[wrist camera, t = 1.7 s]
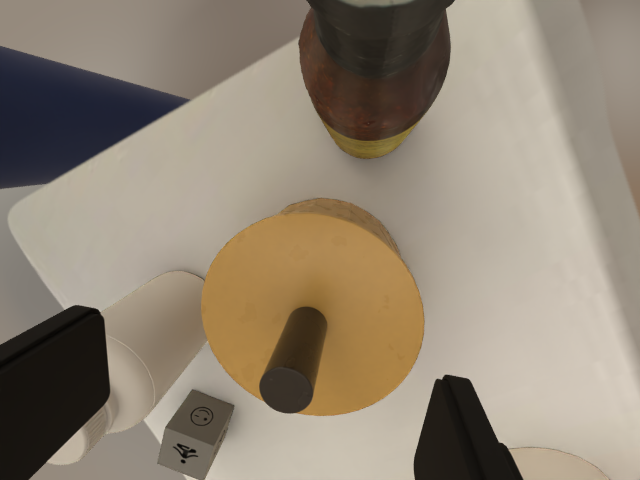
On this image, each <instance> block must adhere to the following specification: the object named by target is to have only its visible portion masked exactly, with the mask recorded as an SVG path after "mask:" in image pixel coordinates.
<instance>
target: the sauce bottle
mask: <svg viewBox="0 0 640 480" xmlns="http://www.w3.org/2000/svg"><path fill="white" fill-rule="evenodd" d="M307 1H308V3H309V4H310V6H311V9H310V10H309V12H308V14H307V15H306V19H305V21H304V24H303V28H302V31H301V34H300V39H299V43H298V45H299V48H300V65H301V71H302V74H303V79H304V82H305V86H306V89H307V90H308V93H309V96H310V97H311V101H312V103H313V106H314V108H315V110H316V111H317V113H318V115H319V117H320V118H321V120H322V122H323V123H324V125H325V127H326V128H327V130H328V132H329V133H330V135H331V137H332V138H333V139H334V141H335V143H336V144H337V145H338V146H339V147H340V148H341V149H342V150H343V151H345V152H346V153H348V154H350V155H352V156H354V157H357V158H363V159H366V158H367V159H370V158H376V157H380V156H383V155H386V154H387V153H389V152H391V151H393V150H394V149H395V148H397V147H398V146H399V145H400V144H401V143H402V142H403V140H404V139H405V138H406V137H407V136H408V134H409V133H410V132H411V130H412V129H413V128H414V127H415V126H416V125H417V123H418V122H419V121H420V120H421V118H422V117H423V116H424V115H425V113H426V112H427V111H428V110H429V108H430V107H431V105H432V104H433V102H434V101H435V99H436V97H437V95H438V94H439V92H440V90H441V88H442V85H443V83H444V80H445V77H446V74H447V70H448V66H449V61H450V52H451V43H450V33H449V27H448V20H447V14H446V8H447V7H449V6H450V5H451V4H452V3H453V2H454V1H455V0H307Z"/></svg>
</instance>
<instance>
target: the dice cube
mask: <svg viewBox="0 0 640 480" xmlns="http://www.w3.org/2000/svg"><path fill="white" fill-rule="evenodd" d="M233 409H234V405H231V404H229V403H226V402H223V401H221V400H218V399H216V398H213V397H210V396H208V395H205V394H202V393H200V392H197V391H194V390H192V391H191V392H190V394H189V395H188V396H187V398H186V399H185V401H184V402H183V403H182V405H181V406H180V408H179V409H178V410H177V412H176V413H175V414H174V416H173V417H172V419H171V420H170V421H169V423H168V424H167V426H166V427H165V431H164V435H163V440H162V444H161V449H160V453H159V458H158V462H157V463H158V464H160V465H162V466H165V467H167V468H170V469H173V470H175V471H178V472H180V473H183V474H185V475H188V476H190V477H193V478H196V479H198V480H205V478H206V475H207V473H208V471H209V469H210V467H211V465H212V463H213V461H214V459H215V457H216V455H217V453H218V451H219V449H220V447H221V445H222V442H223V440H224V438H225V435H226V432H227V429H228V425H229V422H230V419H231V415H232V412H233Z"/></svg>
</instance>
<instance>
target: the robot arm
mask: <svg viewBox="0 0 640 480" xmlns="http://www.w3.org/2000/svg"><path fill="white" fill-rule="evenodd" d="M109 396H110V380H109V368H108V356H107V344H106V333H105V321H104V317H103V316H102V315H101V313H100V311H99V310H98V309H95V308H90V307H85V306H79V305H75V306H72V307H70V308H68V309H66V310H64V311H62V312H60V313H59V314H57V315H55V316H53V317H51V318H49V319H47V320H46V321H44V322H42V323H40V324H38V325H36V326H34V327H33V328H31V329H29V330H27V331H25V332H23V333H21V334H20V335H18V336H16V337H14V338H12V339H10V340H8V341H7V342H5V343H3V344H1V345H0V480H29V479H30V478H31V477H32V476H33V475H34V474H35V473H36V472H37V471H38V470H39V469H40V468H41V467H42V466H43V465H44V464H45V463H46V462H47V461H48V460H49V459H50V458H51V457H52V456H53V455H54V454H55V453H56V452H57V451H58V450H59V449H60V448H61V447H62V446H63V445H64V444H65V443H66V442H67V441H68V440H69V439H70V438H71V437H72V436H73V435H74V434H75V433H76V432H77V431H78V430H79V429H80V428H82V427H83V426H84V425H85V424H86V423H87V422H88V421H89V420H90V419H91V418H92V417H93V416H94V415H95V414H96V413H97V412H98V411H99V410H100V409H101V408H102V407H103V406H104V405H105V403H106V402H107V400H108V398H109ZM414 476H415V480H523V477H522V475H521V473H520V471H519V469H518V467H517V465H516V463H515V461H514V459H513V457H512V455H511V453H510V451H509V450H508V448H507V447H506V446H505V445H504V444H503V443H499V442H498V440H497V438H496V435H495V433H494V431H493V429H492V427H491V424H490V422H489V420H488V418H487V416H486V414H485V411H484V409H483V407H482V405H481V403H480V400H479V398H478V396H477V394H476V392H475V390H474V387H473V385H472V383H471V381H470V380H469V379H467V378H462V377H456V376H451V375H444V377H443V379H442V380H441V379H436V381H435V383H434V387H433V391H432V394H431V398H430V402H429V405H428V409H427V413H426V416H425V420H424V424H423V427H422V431H421V435H420V438H419V442H418V446H417V449H416V453H415V457H414Z"/></svg>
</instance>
